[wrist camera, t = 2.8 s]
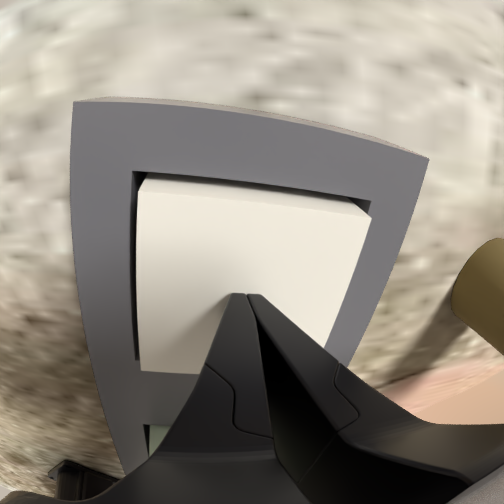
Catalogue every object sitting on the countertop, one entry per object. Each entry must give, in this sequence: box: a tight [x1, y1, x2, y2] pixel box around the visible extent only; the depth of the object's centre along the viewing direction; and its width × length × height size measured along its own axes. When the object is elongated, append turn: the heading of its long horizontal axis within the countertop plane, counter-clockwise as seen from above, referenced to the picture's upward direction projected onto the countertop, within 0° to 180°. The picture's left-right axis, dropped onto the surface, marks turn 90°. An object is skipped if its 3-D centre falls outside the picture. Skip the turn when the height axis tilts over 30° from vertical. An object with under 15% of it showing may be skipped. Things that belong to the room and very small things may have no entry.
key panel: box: [70, 97, 429, 475], centre depth 14 cm, size 21×10×4 cm, turn 170°
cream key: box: [136, 172, 372, 374], centre depth 10 cm, size 6×6×3 cm
